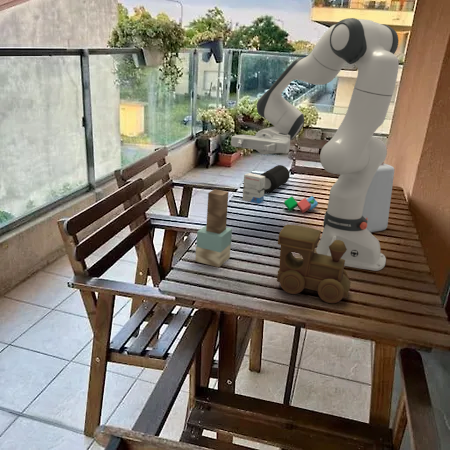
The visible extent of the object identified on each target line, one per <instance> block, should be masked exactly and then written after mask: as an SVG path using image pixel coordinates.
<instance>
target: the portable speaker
mask: <svg viewBox="0 0 450 450" xmlns="http://www.w3.org/2000/svg"><path fill="white" fill-rule="evenodd" d="M260 175H261V176H265V188H264V194H271V193H273V192H274V191H276V190H277V189H279V188H280V187H282V186H284V185H285V184H286V183H287V182H288V181H289V179H290V170H289V169H288V167H286V166H284V165H281V164H280V165H279V164H278V165H275V166H274V167H271V168H270V169H267V170H266V171H265V172H263V173H260Z"/></svg>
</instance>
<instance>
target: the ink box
mask: <svg viewBox="0 0 450 450" xmlns="http://www.w3.org/2000/svg"><path fill="white" fill-rule="evenodd" d="M242 187H243V188H242V201H246V202H250V203H256V204H261V203H264V199H265V193H264V188H265V176H261V174H257V173H252V172H251V173H250V172H248V173H245V174H244V175H243V185H242Z"/></svg>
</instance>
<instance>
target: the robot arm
mask: <svg viewBox="0 0 450 450" xmlns="http://www.w3.org/2000/svg"><path fill="white" fill-rule="evenodd" d="M398 46H399V35H398V32H397V31H396V30H395V29H394V28H393V27H391V26H389V25H387V24H383V23H379V22H375V21H374V20H370V19H361V18H355V17H350V18H344V19H342V20H341V19H340V20H339V21H338V22H336V23H335V24H333V25H331V26H330V27H329V28H328V29H327V30H326V31H325V32H324V33H323V35H322V36H321V37H320V39H319V40H318V41H317V43H316V44H315V45H314V47H313V49H312V50H311V52H310V53H309V54H307V55H306V56H305V57H300V56H299V57H298V58H296V59H295V60H293V61H292V62H291V63H290V64H289V65H288V66H287V68H286V69H285V70H284V71H283V72H282V73H281V74H280V76H279V77H278V78H277V79H276V80H275V81H274V82H273V84H272V85H271V86H270V88H268V89H267V90H266V91H265V92H264V93H263V94H262V95H261V96H260V98H259V99H258V101H257V102H256V110H257V114H258V115H259V116H261V117H262V118H263V119H264V120H267V121H268V122H269V123H270V124H271V125H273V126H270V127H267V128H263V129H260V130H258V131H257V132H256V133H255V134H254V135H247V134H235V135H232V136H231V139H230V140H231V141H230V145H231V147H234V148H240V149H241V148H242V149H248V150H256V151H257V152H258V153H259V154H261V155H272V154H273V155H274V154H281V155H282V154H283V155H287V154H289V152H290V149H291V148H290V147H291V141H292V140H294V139H295V138H296V137H297V136H298V135H299V134H300V132H301V131H302V129H303V127H304V123H305V115H304V113H302V112H301V111H300V110H299V109H298V108H297V107H295V105H293V104H291V103H290V102H289V101H288V100H286V99H285V98H284V97H283V95H282V93H283V92H284V91H285V90H286V89H287V87H288V86H289V85H290V84H291V83H292V82H293V81H296V80H297V81H302V82H305V83H308V84H311V85H315V86H316V85H318V86H319V85H326V84H329V83H331V82H332V81H333V80H334V79H335V78H336V77H337V76H338V74H339V73H340V72H341V70H342V69H343V67H344V65H345V64H346V63H347V64H349V65H353V64H355V65H356V67H357V77H356V80H355V83H354V86H353V89H352V94H351V97H350V101H349V104H348V107H347V110H346V113H345V115H344V117H343V120H342V121H341V123H340V125H339V126H338V128H337V130H336V131H335V133H334V135H333V136H332V137H331V138H330V140H328V141H327V142H326V143H325V144H324V145H323V146H322V148H321V150H320V155H319V161H320V164H321V166H322V167H323V169H324V170H325V171H326V172H327V173H330V174H335V175H339V176H338V179H336V182H335V183H333V185H332V186H331V187H330V191H329V194H328V195H329V196H328V203H327V209H326V211H325V213H324V216H323V217H324V218H323V223H322V224H323V226H322V227H323V230H322V232H321V235H320V240H319V243H318V244H317V246H316V248H315V252H316V253H317V254H323V255H328V256H331V253H330V249H329V246H330V245H331V244H332V243H333V242H334V241H335V240H341V241H343V242H344V244H345V246H346V248H347V250H346V252H345V253H344V254H343V256H342V257H341V259H344V260H345V264H344V267H350V268H357V269H363V270H368V271H369V270H370V271H373V272H374V271H381V270H382V269H384V267H385V266H386V262H387V261H386V260H387V258H386V256H385V254H383V253H382V252H381V245H380V244H381V243H380V241H379V239H378V238H376V236H374V235H373V233H372V232H369V231H368V230H367V229H366V227H367V222H368V221H367V220H368V219H367V218H366V219H365V218H364V217H363V216H362V212H363V207H364V202H365V198H366V194H367V191H368V188H369V186H370V183H371V181H372V179H373V177H374V175H375V173H376V171H377V169H378V168H379V166H380V165H381V164H382V163H384V162H385V160H386V158H387V154H388V151H387V149H388V148H387V146H386V144H385V142H384V141H383V140H382V139H380V138H378V137H376V136H373V135H374V134H375V132H376V131H377V130H378V129H379V128H380V127H381V126H382V125H383V124H384V122H385V120H386V117H387V114H388V110H389V108H390V104H391V100H392V98H393V95H394V91H395V88H396V83H397V79H398V73H399V64H400V63H399V62H400V61H399V58H398V57H397V56H396V55H395V53H396V52H397V50H398Z"/></svg>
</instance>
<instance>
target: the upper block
mask: <svg viewBox="0 0 450 450" xmlns="http://www.w3.org/2000/svg"><path fill="white" fill-rule="evenodd" d="M206 226H207V224H206V225H204V226H203V227H202V228H200V229H199V230H197V232H196V246H197V247H200V248H204V249H208V250H212V251H216V252H222V251H223V250H224V249H225V248H226V247H228V246H229V245H230V244H231V245H232V235H233V228H232V227H227V226H226V230H224V231H223V232H222V233H220V234H217V233H213V232H209V231H206Z"/></svg>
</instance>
